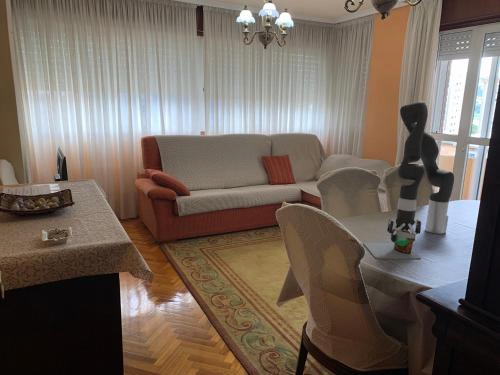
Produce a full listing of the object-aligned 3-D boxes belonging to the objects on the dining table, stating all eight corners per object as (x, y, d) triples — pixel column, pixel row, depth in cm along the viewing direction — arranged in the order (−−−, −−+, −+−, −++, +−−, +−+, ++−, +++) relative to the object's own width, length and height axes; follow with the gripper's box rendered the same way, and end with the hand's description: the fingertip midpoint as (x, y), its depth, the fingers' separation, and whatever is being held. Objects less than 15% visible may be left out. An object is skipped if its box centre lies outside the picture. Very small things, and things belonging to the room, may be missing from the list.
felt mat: (404, 244, 178) (404, 243, 178) (420, 259, 162) (421, 257, 162) (363, 243, 178) (363, 242, 178) (375, 258, 161) (375, 257, 161)
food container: (386, 244, 176) (389, 224, 173) (399, 244, 176) (402, 224, 174) (398, 255, 164) (402, 233, 161) (412, 255, 164) (415, 234, 162)
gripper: (418, 205, 169) (413, 239, 173) (387, 205, 169) (383, 238, 172) (426, 210, 162) (421, 245, 165) (394, 210, 161) (390, 244, 165)
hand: (402, 241), depth 169 cm, fingers open, 8 cm apart
